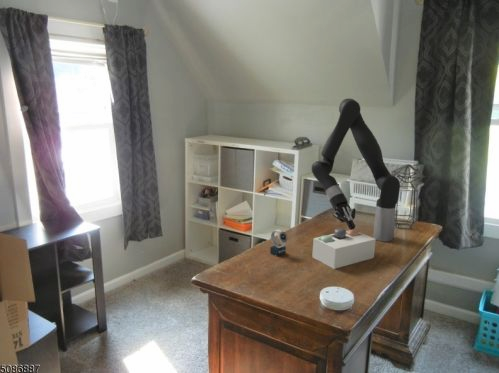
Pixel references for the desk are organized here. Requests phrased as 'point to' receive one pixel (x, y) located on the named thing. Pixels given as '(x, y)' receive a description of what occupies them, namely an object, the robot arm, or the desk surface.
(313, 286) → the desk surface
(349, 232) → the terracotta button
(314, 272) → the desk surface
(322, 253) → the button console
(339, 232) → the charcoal button
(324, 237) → the sage button
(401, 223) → the geometric lantern
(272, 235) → the watch
